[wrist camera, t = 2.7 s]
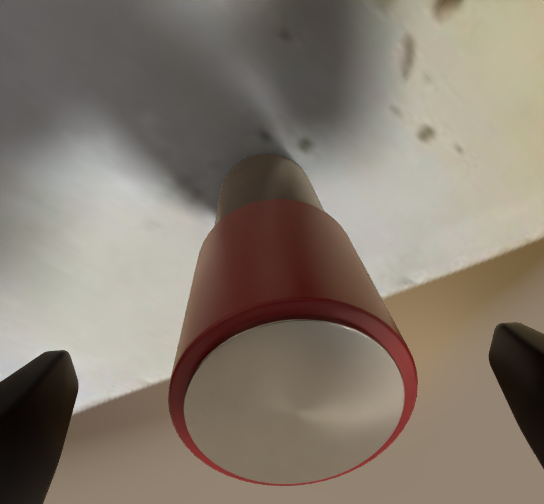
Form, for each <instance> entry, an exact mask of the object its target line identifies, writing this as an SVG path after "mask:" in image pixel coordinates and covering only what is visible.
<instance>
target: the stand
mask: <svg viewBox="0 0 544 504" xmlns="http://www.w3.org/2000/svg"><path fill="white" fill-rule="evenodd" d="M269 199H289V200H296V201H300V202H304V203H307V204H310V205H312V206H315V207H317V208H319V209H321V210H322V211H324V210H323V208H322V206H321V204H320V201H319V199H318V197H317V195H316V193H315V191H314V189H313V187H312V185H311V183H310V181H309V179H308V177H307V175H306V174H305V172H304V171H303V170H302V169H301V168H300V167H299V166H298V165H297V164H296V163H294V162H293V161H291V160H290V159H287V158H285V157H282V156H279V155H273V154H261V155H256V156H252V157H249V158H247V159H245V160H243V161H241V162H240V163H238V164H237V165H236V166H235V167H234V168H233V169H232V170H231V171H230V172H229V173H228V175H227V176H226V178H225V180H224V182H223V184H222V187H221V191H220V197H219V202H218V208H217V214H216V220H215V225H216V224H218V223H219V222H220V221H221V220H222V219H223V218H224V217H226V216H227V215H228V214H230V213H231V212H233V211H235V210H237V209H238V208H240V207H243V206H245V205H248V204H250V203H254V202H258V201H262V200H269ZM215 225H214V226H215Z"/></svg>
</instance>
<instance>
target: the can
mask: <svg viewBox="0 0 544 504" xmlns="http://www.w3.org/2000/svg"><path fill="white" fill-rule="evenodd" d="M417 384H418V380H417V371H416V367H415V363H414V360H413V357H412V355H411V353H410V351H409V349H408V347H407V345H406V343H405V341H404V340H403V337H402V336H401V334H400V332H399V330H398V328H397V327H396V325H395V323H394V321H393V319H392V317H391V315H390V314H389V312H388V310H387V308H386V306H385V304H384V302H383V300H382V299H381V297H380V295H379V293H378V291H377V289H376V287H375V286H374V284H373V282H372V280H371V278H370V276H369V274H368V273H367V271H366V269H365V267H364V265H363V263H362V261H361V260H360V258H359V256H358V254H357V252H356V250H355V248H354V247H353V245H352V243H351V241H350V239H349V237H348V235H347V234H346V232H345V231H344V230H343V228H342V227H341V226H340V225H339V224H338V222H337V221H336V220H335V219H333V218H332V217H331V216H330V215H328V214H327V213H326V212H324V211H322V210H321V209H319V208H317V207H315V206H312V205H310V204H307V203H304V202H300V201H296V200H289V199H269V200H262V201H258V202H254V203H250V204H248V205H245V206H243V207H240V208H238V209H237V210H235V211H233V212H231V213H230V214H228V215H227V216H226V217H224V218H223V219H222V220H221V221H220V222H219V223H218V224H216V225H215V226H214V228H213V229H212V230H211V231H210V233H209V234H208V236H207V237H206V239H205V241H204V242H203V245H202V247H201V250H200V252H199V256H198V260H197V265H196V269H195V273H194V278H193V282H192V287H191V291H190V296H189V300H188V304H187V309H186V313H185V318H184V322H183V327H182V331H181V335H180V340H179V344H178V349H177V353H176V357H175V362H174V366H173V371H172V375H171V380H170V384H169V393H168V403H169V412H170V415H171V419H172V422H173V425H174V426H175V429H176V431H177V433H178V435H179V437H180V438H181V440H182V441H183V443H184V444H185V446H186V447H187V448H188V449H189V450H190V451H191V452H192V453H193V454H194V455H195V456H196V457H197V458H199V459H200V460H201V461H203V462H204V463H205V464H207V465H208V466H210V467H212V468H213V469H215V470H217V471H219V472H221V473H223V474H225V475H227V476H230V477H233V478H236V479H239V480H243V481H246V482H251V483H255V484H262V485H274V486H294V485H304V484H312V483H317V482H321V481H326V480H329V479H332V478H336V477H339V476H341V475H344V474H346V473H349V472H351V471H353V470H355V469H357V468H359V467H361V466H363V465H365V464H366V463H368V462H369V461H371V460H372V459H374V458H375V457H377V456H378V455H379V454H380V453H382V452H383V451H384V450H385V449H387V448H388V447H389V446H390V444H392V443H393V441H394V440H395V439H396V438H397V437H398V436H399V434H400V433H401V432H402V430H403V429H404V427H405V425H406V424H407V422H408V420H409V418H410V416H411V414H412V411H413V409H414V405H415V401H416V397H417Z"/></svg>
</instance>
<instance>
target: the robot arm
mask: <svg viewBox="0 0 544 504" xmlns="http://www.w3.org/2000/svg"><path fill="white" fill-rule="evenodd" d="M489 361H490V365H491V367H492V370H493V372H494V374H495V376H496V378H497V380H498V383H499V385H500V387H501V389H502V391H503V393H504V396H505V398H506V400H507V402H508V404H509V406H510V408H511V410H512V413H513V414H514V417H515V419H516V421H517V423H518V425H519V427H520V429H521V431H522V433H523V435H524V436H525V438H526V440H527V442H528V443H529V445H530V447H531V448H532V450H533V452H534V453H535V455H536V457H537V458H538V460H539V462H540V464H541V465H542V467H543V469H544V334H543V333H540V332H538V331H536V330H534V329H532V328H529V327H527V326H525V325H523V324H521V323H516V322H513V323H501V324H499V325H497V326H496V328H495V331H494V335H493V339H492V344H491V347H490V351H489ZM77 393H78V379H77V376H76V372H75V369H74V366H73V363H72V360H71V357H70V354H69V353H68V352H67V351H65V350H60V351H47V352H44V353H43V354H41V355H40V356H38V357H37V358H35V359H34V360H32V361H31V362H29V363H28V364H26V365H25V366H23V367H22V368H21V369H19V370H18V371H16V372H15V373H13V374H12V375H10V376H9V377H7V378H6V379H4V380H3V381H1V382H0V504H43V502H44V499H45V497H46V494H47V492H48V489H49V487H50V484H51V481H52V479H53V476H54V473H55V470H56V468H57V465H58V463H59V459H60V456H61V452H62V449H63V445H64V441H65V438H66V434H67V430H68V426H69V423H70V419H71V416H72V412H73V408H74V404H75V401H76V397H77Z"/></svg>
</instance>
